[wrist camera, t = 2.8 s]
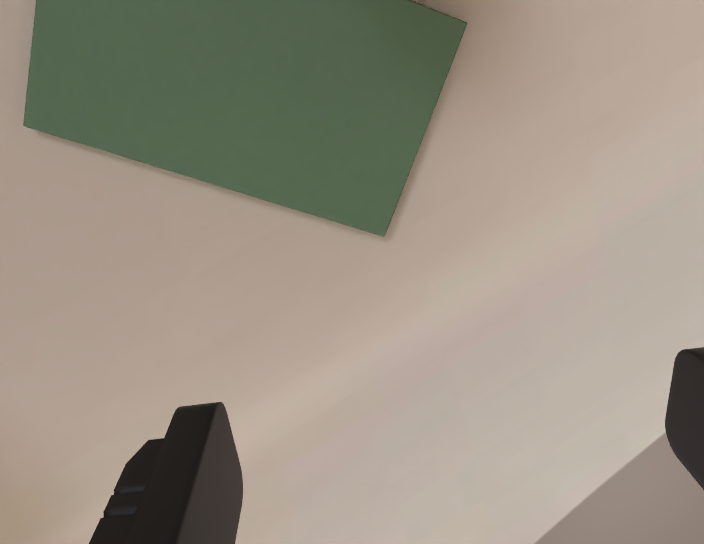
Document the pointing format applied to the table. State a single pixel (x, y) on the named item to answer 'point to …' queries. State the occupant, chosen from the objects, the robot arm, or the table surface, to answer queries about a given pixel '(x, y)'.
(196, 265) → the table surface
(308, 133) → the mat
